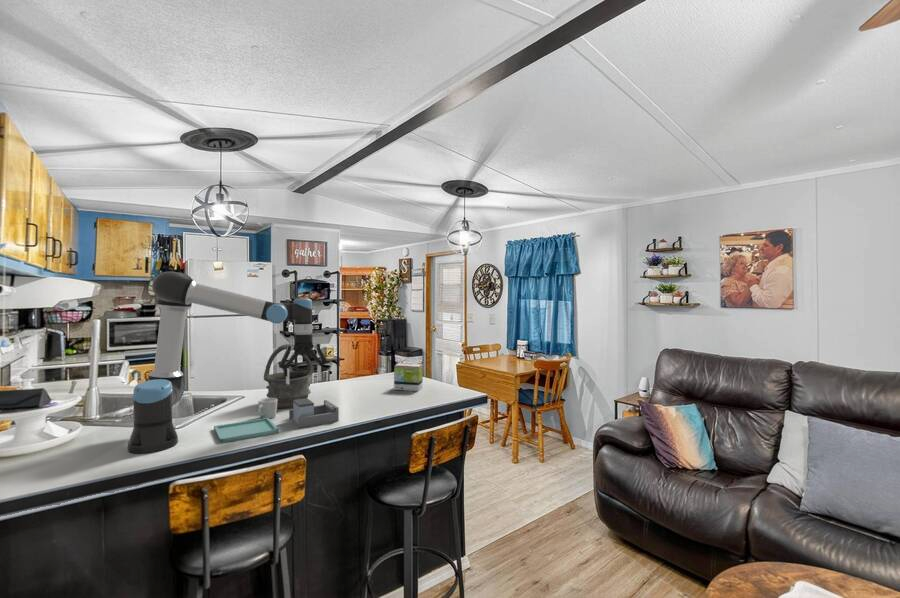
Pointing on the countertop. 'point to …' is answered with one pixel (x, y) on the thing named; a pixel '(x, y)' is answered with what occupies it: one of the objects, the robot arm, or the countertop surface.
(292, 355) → the robot arm
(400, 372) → the tea box
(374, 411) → the countertop surface
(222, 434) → the tray
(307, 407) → the block
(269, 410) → the cup
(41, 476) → the countertop surface
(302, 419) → the tray
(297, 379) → the dark handled basket
